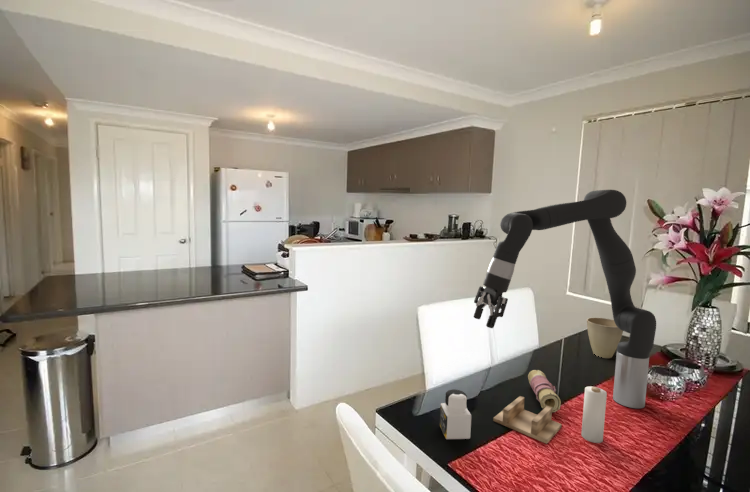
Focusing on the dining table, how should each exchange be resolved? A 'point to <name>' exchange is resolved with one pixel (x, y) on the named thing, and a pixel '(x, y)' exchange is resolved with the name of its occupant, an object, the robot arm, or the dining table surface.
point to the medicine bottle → (455, 416)
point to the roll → (594, 414)
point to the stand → (528, 421)
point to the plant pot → (603, 336)
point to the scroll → (544, 390)
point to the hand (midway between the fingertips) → (482, 322)
